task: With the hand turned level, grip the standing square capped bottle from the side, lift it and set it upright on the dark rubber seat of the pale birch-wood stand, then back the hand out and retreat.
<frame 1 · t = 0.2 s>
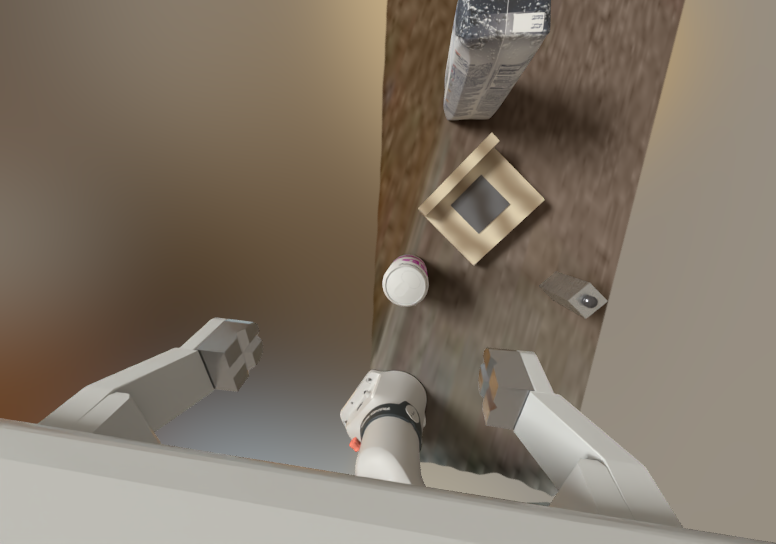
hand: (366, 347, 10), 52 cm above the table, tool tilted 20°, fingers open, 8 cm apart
juice carton: (468, 101, 55), on the table
square capped bottle: (554, 286, 59), on the table
birch stand: (475, 206, 58), on the table
supplement can: (408, 271, 62), on the table
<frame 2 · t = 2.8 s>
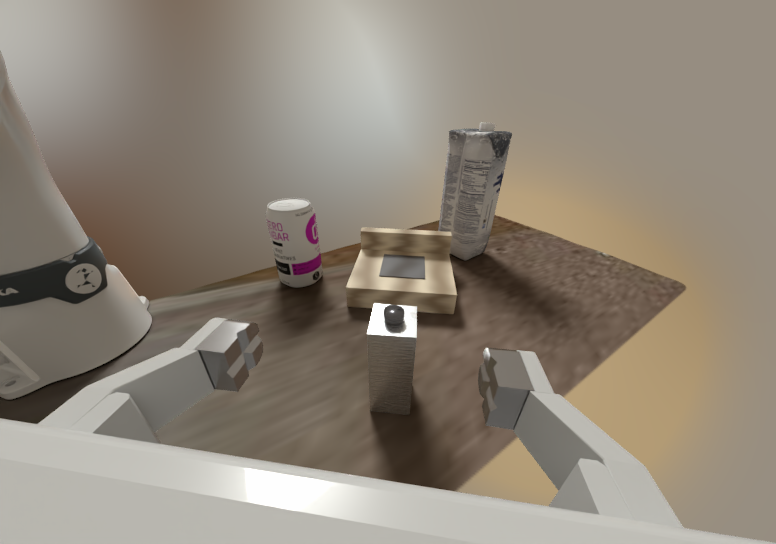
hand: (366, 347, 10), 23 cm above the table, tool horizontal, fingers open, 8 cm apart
juice carton: (460, 251, 66), on the table
square capped bottle: (391, 395, 33), on the table
birch stand: (402, 284, 54), on the table
supplement can: (302, 278, 55), on the table
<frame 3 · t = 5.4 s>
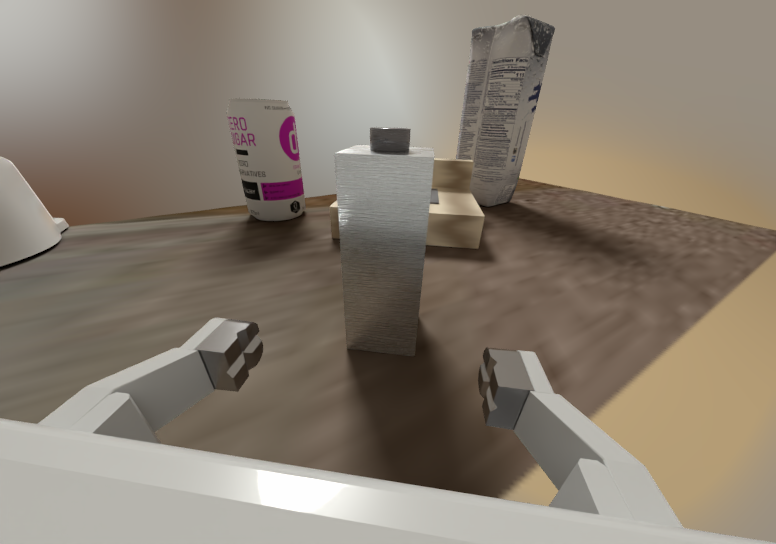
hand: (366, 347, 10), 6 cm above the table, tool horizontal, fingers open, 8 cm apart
juice carton: (480, 200, 54), on the table
square capped bottle: (385, 329, 20), on the table
birch stand: (407, 222, 41), on the table
supplement can: (279, 215, 43), on the table
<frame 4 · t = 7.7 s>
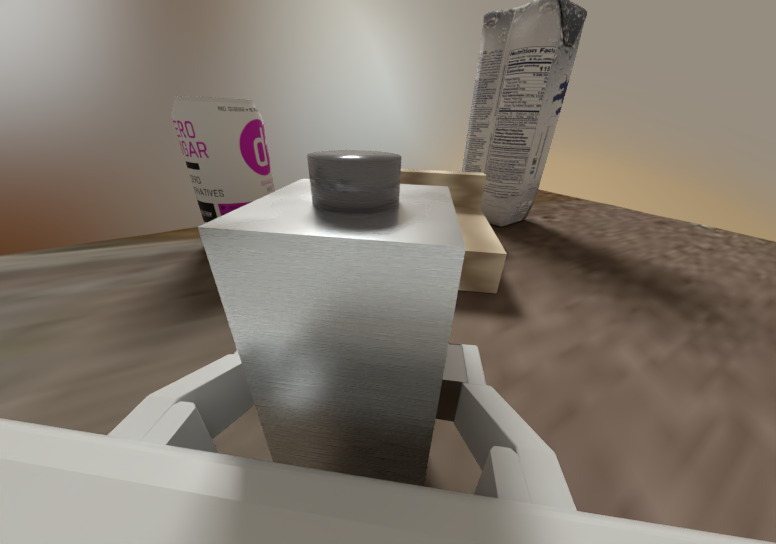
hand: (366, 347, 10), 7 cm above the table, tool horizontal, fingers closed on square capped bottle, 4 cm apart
juice carton: (490, 218, 46), on the table
square capped bottle: (364, 471, 12), on the table, touching gripper
birch stand: (404, 250, 33), on the table
supplement can: (248, 239, 35), on the table
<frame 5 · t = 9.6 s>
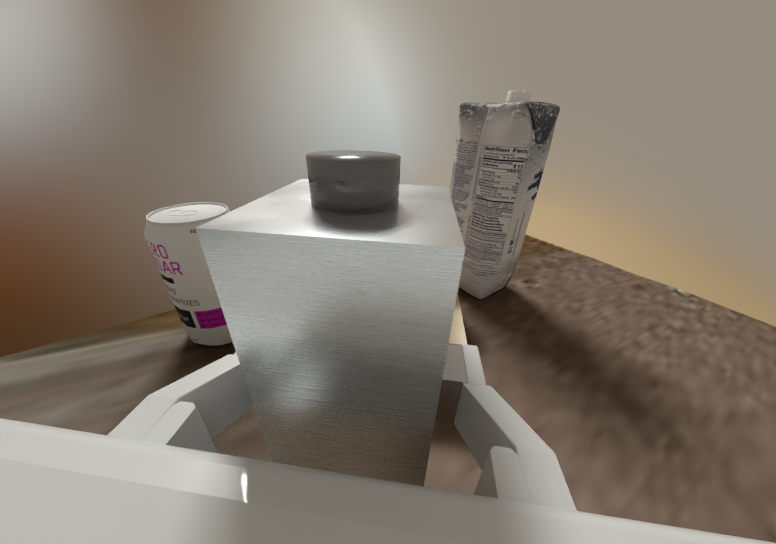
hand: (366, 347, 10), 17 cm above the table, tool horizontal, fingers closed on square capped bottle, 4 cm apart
juice carton: (472, 283, 46), on the table
square capped bottle: (364, 472, 12), point 10 cm above the table, touching gripper
birch stand: (382, 341, 34), on the table
supplement can: (228, 327, 35), on the table
when the fingers open (12 cm above the table, at t = 11.9 s): square capped bottle drops 1 cm, resting on birch stand.
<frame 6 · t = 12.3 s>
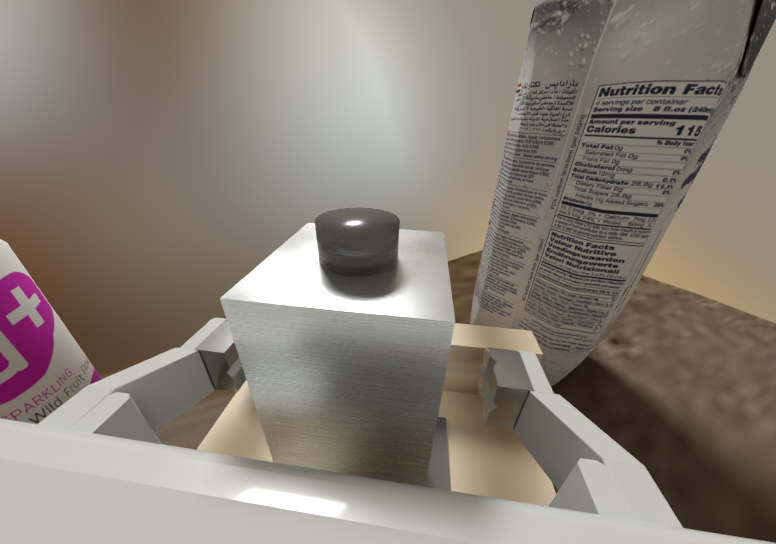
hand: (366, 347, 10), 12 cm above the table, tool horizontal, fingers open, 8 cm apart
juice carton: (524, 345, 28), on the table
square capped bottle: (365, 488, 13), point 4 cm above the table, touching birch stand
birch stand: (365, 524, 15), on the table
supplement can: (48, 470, 17), on the table
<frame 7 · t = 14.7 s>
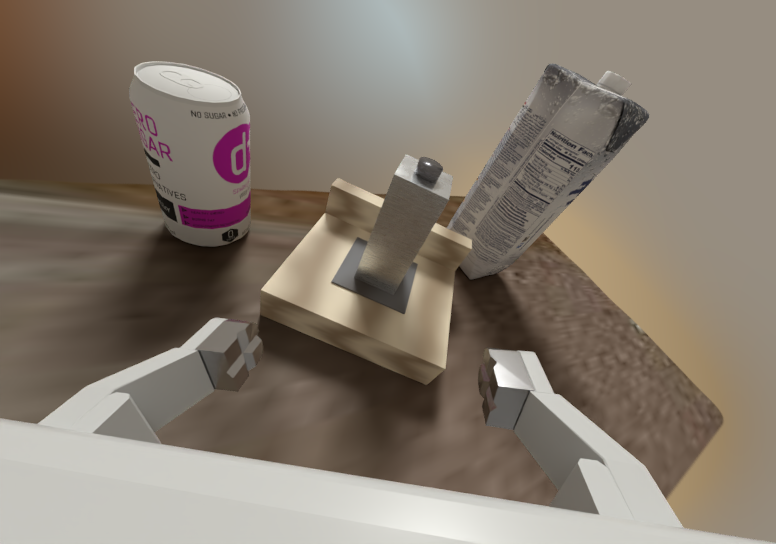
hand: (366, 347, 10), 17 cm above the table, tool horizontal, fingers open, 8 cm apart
juice carton: (467, 259, 46), on the table
square capped bottle: (379, 272, 30), point 4 cm above the table, touching birch stand
birch stand: (368, 294, 33), on the table
supplement can: (211, 227, 32), on the table
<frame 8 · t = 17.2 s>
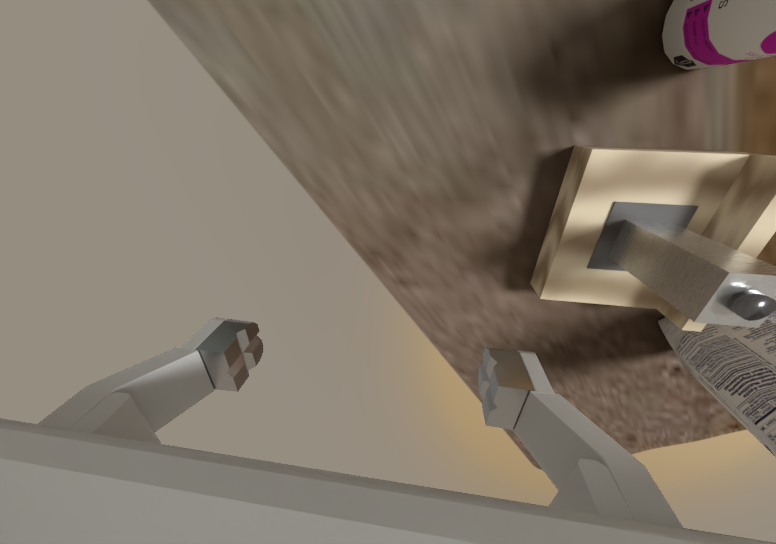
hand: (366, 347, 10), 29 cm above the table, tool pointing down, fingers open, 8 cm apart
juice carton: (697, 320, 39), on the table
square capped bottle: (637, 240, 31), point 4 cm above the table, touching birch stand
birch stand: (616, 227, 35), on the table
supplement can: (708, 15, 25), on the table
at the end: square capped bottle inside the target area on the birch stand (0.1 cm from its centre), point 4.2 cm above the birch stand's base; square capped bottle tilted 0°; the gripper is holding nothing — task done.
